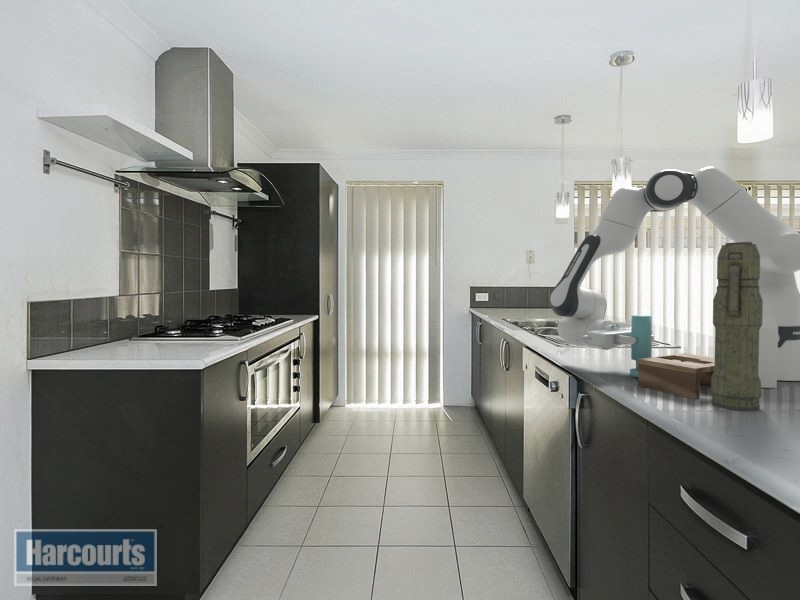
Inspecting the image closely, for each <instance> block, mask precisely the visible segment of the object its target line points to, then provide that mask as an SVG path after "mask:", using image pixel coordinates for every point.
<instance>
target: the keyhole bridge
mask: <svg viewBox="0 0 800 600" xmlns="http://www.w3.org/2000/svg"><path fill="white" fill-rule="evenodd" d="M714 369H715V356H708V355H701V354H700V355H699V354H694V353H685V352H684V353H683V352H681V353H675V354H666V355H659V356H651V357H650V358H641V359H638V377H637V383H638V384H637V386H638V387H640V388H644V387H645V388H644V389H649V390H653V389H654V391H658V392H663V393H666V392H667V394H671V395H675V394H676V396H681V397H684V398H689V399H693V400H696V399H701V396H700V395H701V394H700V393H701V384H703V385H705V386H706V385H707V386H711V378H712V376H713V373H714Z"/></svg>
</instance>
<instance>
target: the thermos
mask: <svg viewBox="0 0 800 600" xmlns="http://www.w3.org/2000/svg"><path fill="white" fill-rule="evenodd" d="M716 258H717V259H716V263H717V264H716V280H717V285H716V293H715V295H714V296H713V299H712V324H713V326H714V357H715V369H714V373H713V376H712V378H711V385H710V390H711V391H710V393H711V395H712V396H711V404H712V405H713V406H716V407H718V408H722V409H726V410H733V411H740V412H742V411H743V412H745V411H746V412H747V411H748V412H755V411H759V410H760V409H761V406H760V399H761V397H762V388H761V381H760V378H759V376H758V365H759V330H760V328H761V326H762V313H763V300H762V297H761V295H760V292H759V288H760V287H759V286H758V280H759V279H760V254H759V251H758V249H757V246H756V244H752V242H737V243H735V242H726V243H725V244H723V245H721V247H720V250H719V251H718V254H717V257H716Z"/></svg>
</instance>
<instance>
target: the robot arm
mask: <svg viewBox="0 0 800 600" xmlns="http://www.w3.org/2000/svg"><path fill="white" fill-rule="evenodd" d="M684 203H685V204H686V203H687V204H691V205H692V206H694V207H695V208H697V209H698V210H699V211H700V212H701V213H702V214H703V215H704V216H705V217H706V218H707V219H708V220H709V221H710V222H711V224H713V225H714V227H716V228H717V229H718V230H719V231H720V232H721V233H722V234H723V235H724V236H725V237H726V238H728V239H730V240H731V241H732V242H733V243H737V242H752V244H756V246H757V249H758V251H759V254H760V279H759V280H758V286H759V287H760V288H759V292H760V295H761V297H762V300H763V311H771V316H772V317H773V319H774V321H775V323H776V325H777V327H778V353H777V381H784V382H785V381H786V382H789V381H790V382H796V381H797V382H798V381H799V382H800V292H799V289H798V284H797V280H796V274H795V273H797V272H798V271H800V232H798V231H796V230H795V228H793V227H791V225H789V224H787V223H786V222H785V221H783V220H782V219H780V218H778V217H777V216H776V215H774V214H773V213H771V212H770V211H769V210H767V209H766V208H765V207H764V206H763V205H761V204H760V203H759V202H758V201H757V200H756V198H754V197H753V196H752V195H751V194H750V193H749V192H748V191H746V189H744V187H742V186H741V185H740V184H739V183H738V182H737V181H736V180H734V179H733V178H732V177H730V176H729V175H727V174H726V172H723V171H722V170H720V169H718V168H717V167H714V166H706V167H703V168H700V169H698V170H697V171H695V172H694V173H691V172H687V171H681V170H679V169H673V168H671V169H670V168H669V169H662V170H660V171H657V172H656V173H655V174H653V175H652V176H651V177H650V178H649V179H648V181H647V182H646V184H645V185H644V186H643V187H639V188H638V187H633V186H623V187H620V188H619V189H617V190H616V191H615V193H614V194H613V195H612V197H611V199H610V200H609V202H608V204H607V206H606V207H605V209H604V212H603V214H602V217H601V218H600V220H599V223H598V225H597V226H596V228H595V229H594V230H593V232H592V233H590V234H589V235H587V236H586V237H585V238H584V239H583V240H582V242H581V243H580V245H579V246H578V248H577V250H576V251H575V254H574V255H573V257H572V258H571V261H570V262H569V264H568V266H567V268H566V270H565V271H564V273H563V275H562V277H561V278H560V280H559V281H558V283H557V284H556V285H555V286H554V288H553V289H552V291H551V292H550V295H549V305H550V308H551V310H552V311H553V313H554V314H555V315H556V316H558V317H563V318H562V319H560V320H559V322H558V324H557V333H558V336H559V337H560V339H562V340H563V341H564V342H566V343H567V344H571V345H574V346H578V347H579V346H580V347H589V348H591V349H597V350H604V351H609V350H612V349H613V348H616V347H618V346H622V345H631V344H636V343H638V341H637V340H638V338H637V337H631V324H628V322H622V321H620V322H619V321H615V320H614V321H613V320H610V319H605V315H606V312H607V306H608V305H607V299H606V297H605V295H604V293H602V292H601V291H599V290H594V289H591V288H585V287H582V286H581V285H582V284H583V281H584V280H585V278H586V277H587V275H588V272H589V271H590V269H591V267H592V266H593V264H594V263H595V262H596V261H598V260H599V259H601V258H603V257H606V256H611V255H616V254H621V253H622V252H624V251H626V250H627V249H630V247H631V246H632V244H633V243H634V241H635V239H636V237H637V235H638V232H639V230H640V227H641V226H642V223H643V221H644V219H645V217H646V215H647V214H648V213H649V212H652V213H653V212H658V213H660V212H661V213H663V212H668V211H671V210H674V209H677V208H678V207H679V206H682V205H683V204H684ZM654 341H655V336H654V335H653V334H652V342H654Z"/></svg>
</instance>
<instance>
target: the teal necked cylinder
mask: <svg viewBox="0 0 800 600" xmlns="http://www.w3.org/2000/svg"><path fill="white" fill-rule="evenodd" d="M630 317H631V322H630V323H631V324H630V325H631V337H637V338H638V340H637V341H638V343H636V344H630V346H631V347H630V349H631V350H630V359H631V360H633V361H635V368H634V367H633V368H630V369H629V376H630V377H633V378H638V359H641V358H650V357H652V347H653V346H652V335H653V330H652V329H653V326H652V325H653V324H652V323H653V315H647V314H633V315H631V316H630Z"/></svg>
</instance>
